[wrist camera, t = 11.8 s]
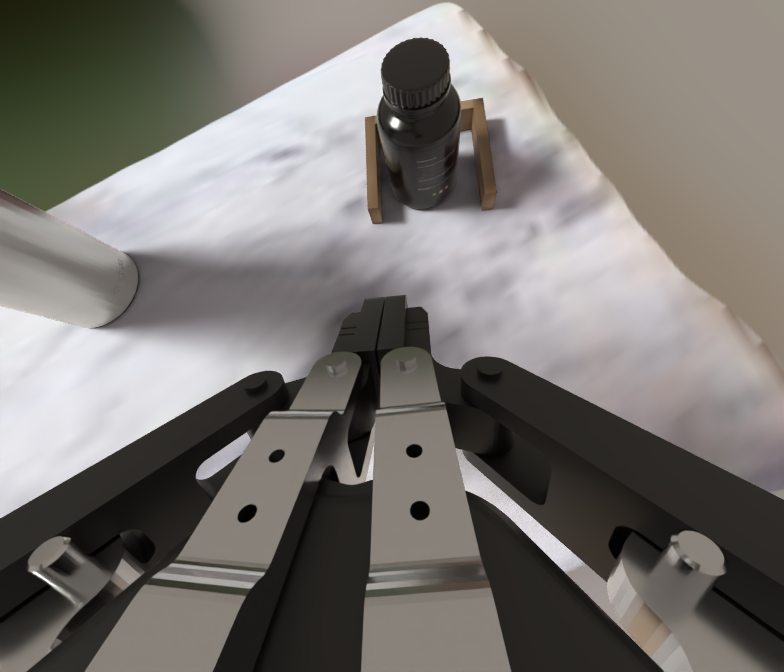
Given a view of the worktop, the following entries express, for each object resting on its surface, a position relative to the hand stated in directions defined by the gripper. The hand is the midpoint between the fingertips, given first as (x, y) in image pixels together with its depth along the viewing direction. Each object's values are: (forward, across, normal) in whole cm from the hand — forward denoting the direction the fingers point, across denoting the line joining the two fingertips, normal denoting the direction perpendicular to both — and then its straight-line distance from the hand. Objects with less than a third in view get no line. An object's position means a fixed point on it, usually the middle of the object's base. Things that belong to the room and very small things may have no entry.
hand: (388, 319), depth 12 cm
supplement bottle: (+27, -2, -1) cm, 27 cm away
